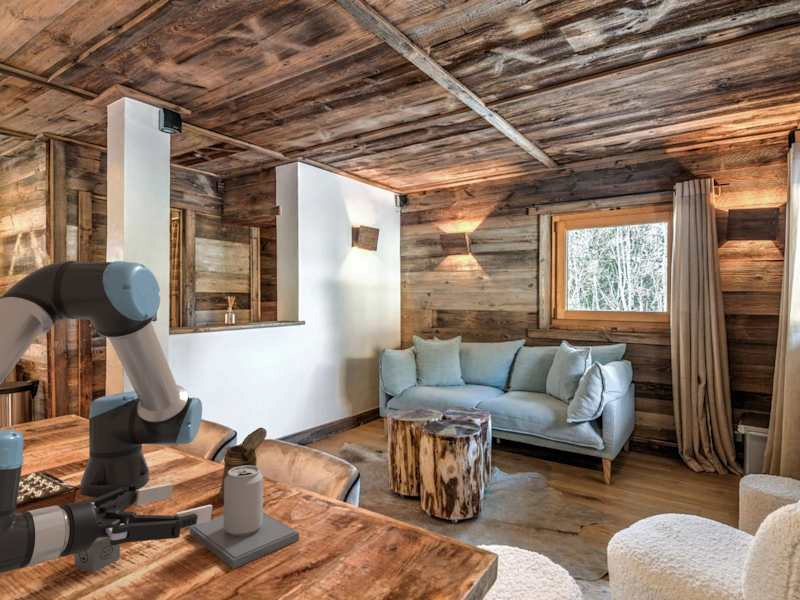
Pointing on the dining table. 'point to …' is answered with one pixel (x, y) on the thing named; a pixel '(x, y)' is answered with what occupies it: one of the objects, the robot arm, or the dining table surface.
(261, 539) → the slate board
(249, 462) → the wooden mug
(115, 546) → the dice cube
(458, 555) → the dining table surface
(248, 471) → the can
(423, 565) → the dining table surface
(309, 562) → the dining table surface
